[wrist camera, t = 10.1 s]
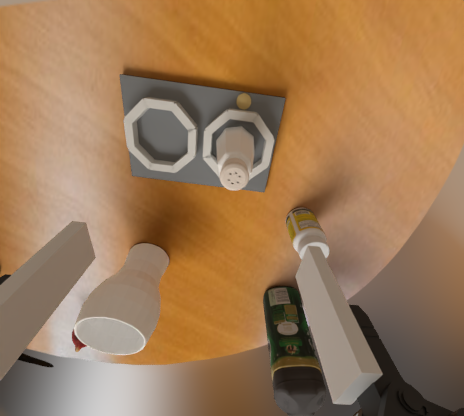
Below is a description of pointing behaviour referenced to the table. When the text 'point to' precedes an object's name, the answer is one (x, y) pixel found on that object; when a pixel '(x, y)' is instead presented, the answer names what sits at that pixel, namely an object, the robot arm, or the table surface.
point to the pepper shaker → (235, 157)
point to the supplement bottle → (305, 231)
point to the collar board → (194, 129)
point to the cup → (125, 304)
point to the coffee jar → (292, 354)
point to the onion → (77, 342)
